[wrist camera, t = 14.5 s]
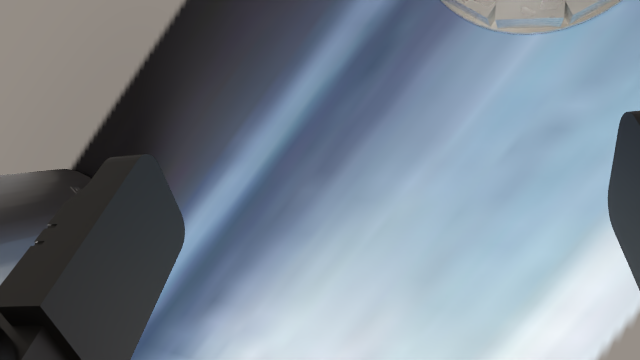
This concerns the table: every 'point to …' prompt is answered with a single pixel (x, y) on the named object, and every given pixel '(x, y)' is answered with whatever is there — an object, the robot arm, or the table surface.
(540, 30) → the ring holder
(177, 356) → the table surface
